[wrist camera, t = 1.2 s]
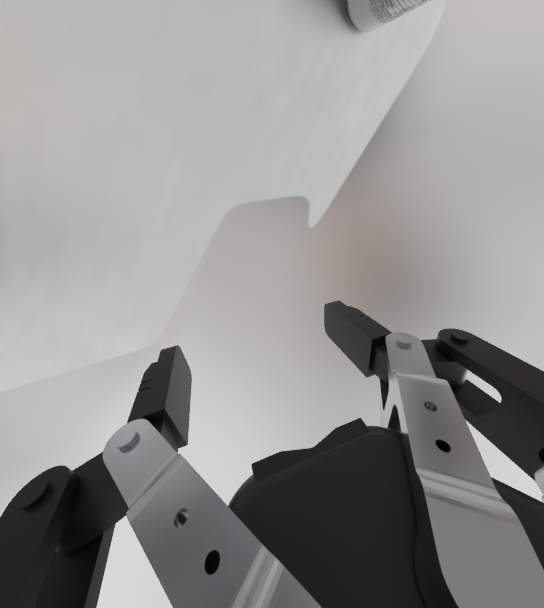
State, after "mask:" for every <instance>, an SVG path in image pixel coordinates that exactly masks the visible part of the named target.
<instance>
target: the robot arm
mask: <svg viewBox="0 0 544 608" xmlns="http://www.w3.org/2000/svg"><path fill="white" fill-rule="evenodd" d="M324 311H325V312H324V317H325V318H324V323H325V324H324V325H325V331H326V333H327V335H328V336H329V338H330V339H331V340H332V341H333V342H334V343H335V344H336V345H337V346H338V347H339V348H340V349H341V350H342V351H343V353H344V354H345V355H346V356H347V357H348V358H349V359H350V360H351V361H352V362H353V363H354V364H355V365H356V366H357V368H358V369H359V370H360V371H361V372H362V373H363V374H364V375H365V376H366V377H369V376H372V375H375V374H376V375H377V376H378V389H379V399H380V409H381V427H378V426H366V425H365V423H364V422H363V421H362V419H361V418H359V419H356V420H354V421H352V422H350V423H347V424H345V425H342V426H340V427H338V428H336V429H335V430H333V431H332V432H331V433H330V434H329V435H328V436H326V437H325V438H324V439H323V440H322V441H321V442H319V443H318V444H317V445H316V446H315V447H313V448H310V449H300V450H291V451H282V452H279V453H276V454H274V455H272V456H269V457H267V458H265V459H262V460H260V461H257V462H255V463H253V464H252V470H253V475H252V476H251V477H249V478H248V479H247V480H246V481H245V482H244V483H243V485H242V486H241V487H240V488H239V490H238V491H237V492H236V493H235V495H234V497H233V498H232V500H231V502H230V503H229V505H228V506H227V505H226V504H225V503H224V502H223V501H222V499H221V498H220V497H219V496H218V495H217V494H216V493H215V492H214V491H213V489H212V488H211V487H210V486H209V485H208V484H207V483H206V482H205V481H204V480H203V479H202V477H201V476H200V475H199V474H198V473H197V472H196V471H195V470H194V469H193V467H192V466H191V465H190V464H189V463H188V462H187V461H186V460H185V459H184V458H183V457H182V456H181V455H180V454H178V453H177V452H178V448H181V447H183V446H186V445H187V444H188V429H189V413H190V397H191V381H192V378H191V371H190V368H189V366H188V363H187V361H186V359H185V357H184V355H183V353H182V351H181V348H180V347H179V346H178V345H177V346H174V347H170V348H166V349H163V350H161V352H160V355H159V359H158V362H155V363H152V364H151V365H150V366H149V368H148V369H147V370H146V371H145V373H144V375H143V378H142V381H141V384H140V387H139V390H138V391H139V392H138V393H137V396H136V398H135V401H134V404H133V407H132V410H131V413H130V416H129V419H128V422H127V424H126V425H124V426H123V427H121V428H120V429H119V430H118V431H117V432H116V433H115V434H114V435H113V436H112V437H111V438H110V440H109V441H108V442H107V444H106V446H105V448H104V451H103V452H102V453H100V454H99V455H97V456H96V457H94V458H92V459H91V460H89V461H87V462H86V463H84V464H83V465H81V466H80V467H78V468H76V469H75V470H73V471H71V470H70V469H69V468H68V467H66V466H56V467H53V468H51V469H48V470H46V471H45V472H43V473H41V474H40V475H38V476H37V477H35V478H34V479H32V480H31V481H30V482H29V483H28V484H27V485H25V486H24V487H23V488H22V489H21V490H20V491H19V492H18V493H17V494H16V496H15V497H14V498H13V499H12V501H11V502H10V503H9V504H8V506H7V507H6V509H5V511H4V512H3V514H2V516H1V517H0V608H96V606H97V602H98V598H99V593H100V589H101V584H102V580H103V575H104V571H105V567H106V562H107V557H108V553H109V549H110V545H111V540H112V536H113V532H114V527H115V523H117V522H118V521H119V520H120V519H122V518H123V517H124V516H126V515H127V518H128V520H129V523H130V525H131V526H132V528H133V530H134V532H135V534H136V536H137V538H138V540H139V542H140V544H141V546H142V548H143V550H144V552H145V554H146V556H147V558H148V559H149V562H150V564H151V565H152V567H153V569H154V571H155V573H156V575H157V577H158V579H159V581H160V583H161V585H162V587H163V589H164V591H165V593H166V595H167V596H168V598H169V600H170V602H171V604H172V606H173V608H544V495H543V496H542V501H543V502H541V501H538V500H536V499H534V498H532V497H530V496H528V495H526V494H524V493H522V492H520V491H518V490H516V489H514V488H512V487H510V486H508V485H506V484H504V483H502V482H500V481H498V480H496V479H494V478H492V477H490V475H489V472H488V470H487V468H486V466H485V464H484V461H483V459H482V457H481V454H480V452H479V450H478V448H477V445H476V443H475V441H474V439H473V437H472V434H471V432H470V430H469V428H468V425H467V423H466V421H465V420H467V421H468V422H469V423H470V424H471V425H472V426H474V427H475V428H476V429H477V430H478V431H479V432H480V433H481V434H482V435H484V436H485V437H486V438H487V439H488V440H489V441H490V442H492V443H493V444H494V445H495V446H496V447H497V448H498V449H499V450H501V451H502V452H503V453H504V454H505V455H506V456H507V457H509V458H510V459H511V460H512V461H513V462H514V463H515V464H516V465H518V466H519V467H520V468H521V469H522V470H524V472H525V473H527V474H528V475H529V476H530V477H531V478H532V479H534V480H535V481H536V483H537V485H538V486H539V488H540V489H541V491H542V492H543V494H544V372H543V371H541V370H540V369H538V368H536V367H534V366H532V365H530V364H528V363H526V362H524V361H522V360H521V359H519V358H517V357H515V356H513V355H511V354H509V353H507V352H505V351H503V350H501V349H499V348H498V347H496V346H494V345H492V344H490V343H488V342H486V341H484V340H482V339H481V338H479V337H476V336H475V335H472V334H471V333H469V332H466V331H463V330H458V329H443V330H441V331H440V332H439V333H438V336H437V339H434V340H419V339H418V338H416V337H415V336H413V335H410V334H407V333H401V332H395V333H392V332H390V331H389V330H388V329H386V328H385V327H383V326H382V325H380V324H379V323H377V322H376V321H374V320H373V319H371V318H370V317H369V316H367V315H365V314H364V313H363V312H361V311H360V310H358V309H356V308H353V307H350V306H346V305H344V304H343V303H342V302H341V301H334V302H331V303H328V304H325V307H324ZM470 371H471V372H472V373H474V374H475V375H477V376H478V377H480V378H481V379H483V380H484V381H486V382H487V383H489V384H490V385H491V386H493V387H494V388H495V389H497V391H498V392H499V393H500V395H501V397H502V401H501V403H499V402H498V401H496V400H495V399H494V398H492V397H491V396H489V395H488V394H487V393H485V392H484V391H482V390H481V389H480V388H478V387H477V386H475V385H474V384H473V383H471V382H470V381H468V380H467V379H466V378H467V376H468V374H469V372H470Z"/></svg>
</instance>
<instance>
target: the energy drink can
mask: <svg viewBox="0 0 544 608" xmlns="http://www.w3.org/2000/svg"><path fill="white" fill-rule="evenodd" d="M428 1H430V0H347V7H348V13H349V16H350V19H351V21H352V23H353V24H354V25H355V26H356V27H357V28H358V30H360V31H361V32H365V33H367V32H371V31H373V30H375V29H377V28H379V27H381V26H383V25H384V24H386V23H388V22H390V21H392V20H394V19H396V18H398V17H400V16H402V15H403V14H405V13H407V12H409V11H411V10H413V9H415V8H417V7H419V6H421V5H422V4H424V3H426V2H428Z"/></svg>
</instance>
